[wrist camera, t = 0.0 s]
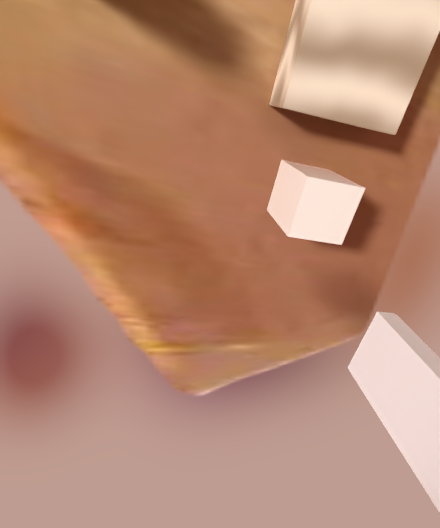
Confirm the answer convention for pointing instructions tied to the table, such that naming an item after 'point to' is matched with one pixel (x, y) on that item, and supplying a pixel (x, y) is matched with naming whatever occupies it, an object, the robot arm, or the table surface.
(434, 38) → the birch base
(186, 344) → the table surface
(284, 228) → the off-white block
